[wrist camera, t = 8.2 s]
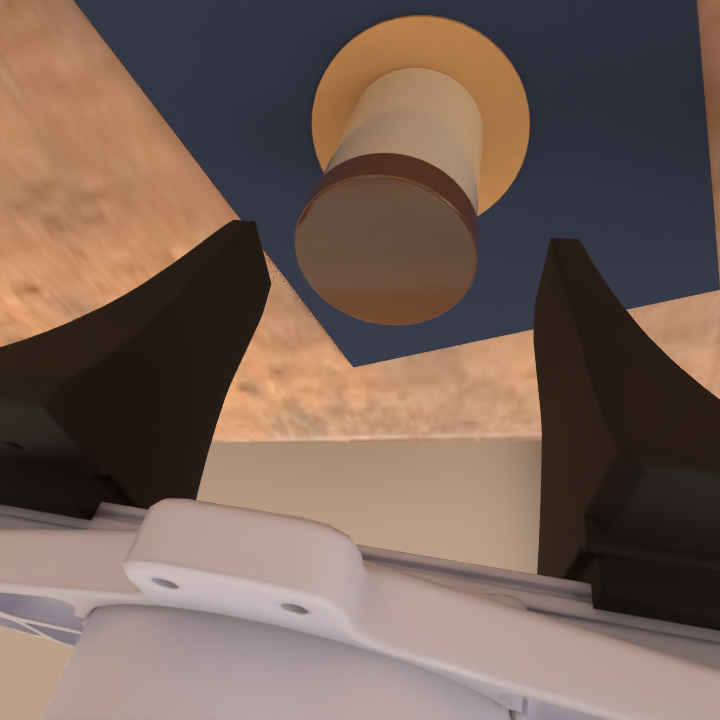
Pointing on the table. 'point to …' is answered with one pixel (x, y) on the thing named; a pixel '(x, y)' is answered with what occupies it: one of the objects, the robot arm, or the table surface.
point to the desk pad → (500, 121)
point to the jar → (398, 202)
